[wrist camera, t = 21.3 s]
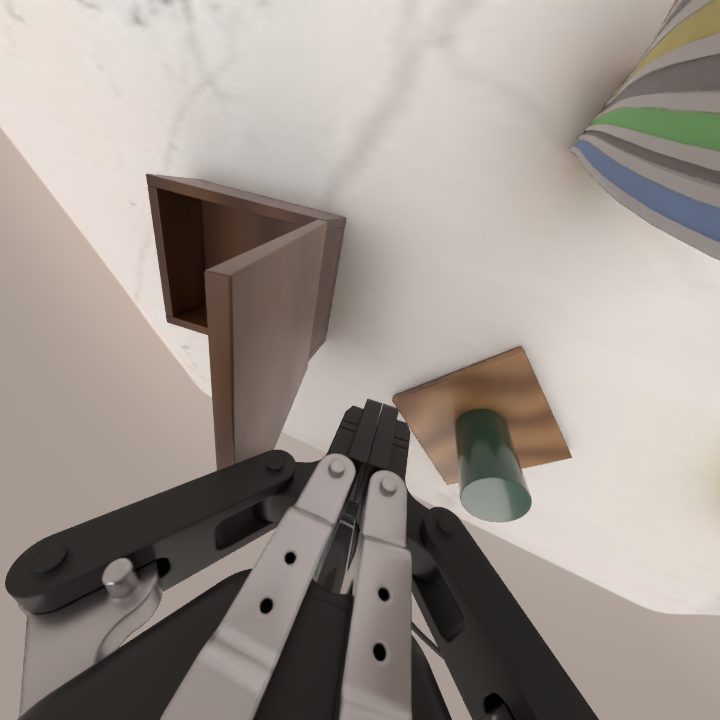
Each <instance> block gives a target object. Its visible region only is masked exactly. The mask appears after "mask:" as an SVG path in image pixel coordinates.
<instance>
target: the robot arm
mask: <svg viewBox="0 0 720 720" xmlns="http://www.w3.org/2000/svg"><path fill="white" fill-rule="evenodd" d="M381 407H382V403H379V402H376V401H373V400H370V399H367V401H366V404H365V407H364V409H362V408H359V407H356V406H352V407H351V408H350V409H348V410H347V411H346V412H345V414H344V417H343V419H342V421H341V423H340V426H339V428H338V430H337V432H336V435H335V437H334V439H333V441H332V444H331V446H330V448H329V451H328V452H327V454H326V455H325V456H324V457H323V458H322V459H320V460H318V461H315V462H310V463H304V462H303V463H302V462H295V460H294V458H293V457H292V456H291V455H290V454H289V453H287V452H285V451H283V450H270V451H267V452H264V453H262V454H259V455H257V456H254V457H251V458H249V459H246V460H244V461H241V462H239V463H236V464H233V465H231V466H228V467H226V468H223V469H221V470H218V471H215V472H213V473H210V474H208V475H205V476H203V477H200V478H197V479H195V480H192V481H190V482H187V483H185V484H182V485H179V486H177V487H174V488H172V489H169V490H167V491H164V492H162V493H159V494H156V495H154V496H151V497H149V498H146V499H143V500H141V501H138V502H136V503H133V504H130V505H128V506H125V507H123V508H120V509H118V510H115V511H112V512H110V513H107V514H105V515H102V516H100V517H97V518H94V519H92V520H89V521H87V522H84V523H82V524H79V525H76V526H74V527H71V528H69V529H66V530H64V531H61V532H58V533H56V534H53V535H51V536H49V537H46V538H44V539H42V540H41V541H39V542H37V543H36V544H34V545H32V546H31V547H30V548H28V549H27V550H26V551H25V552H24V553H23V554H22V555H20V557H19V558H18V559H17V560H16V561H15V562H14V564H13V565H12V566H11V568H10V570H9V572H8V574H7V576H6V581H5V586H6V589H7V591H8V593H9V594H10V595H11V596H12V597H13V598H14V599H15V600H16V601H17V602H18V605H19V607H20V609H21V610H22V611H23V612H24V614H25V615H26V616H27V626H26V638H25V650H24V662H23V663H24V664H23V675H22V688H21V699H20V711H19V718H18V719H17V720H452V719H451V716H450V714H449V711H448V709H447V706H446V704H445V702H444V699H443V697H442V694H441V692H440V690H439V687H438V685H437V682H436V680H435V677H434V675H433V673H432V670H431V668H430V665H429V663H428V661H427V659H426V657H425V655H424V653H423V651H422V649H421V647H420V646H419V644H418V643H417V641H416V640H415V638H414V637H413V636H412V635H411V629H412V630H413V631H414V632H415V633H416V634H417V635H418V636H419V637H420V638H421V639H422V640H423V641H424V642H425V643H426V644H427V645H428V646H429V647H431V648H432V649H433V650H434V651H435V652H436V653H437V654H438V655H439V656H440V657H442V658H443V659H444V661H445V663H446V665H447V667H448V669H449V671H450V673H451V675H452V677H453V679H454V682H455V684H456V686H457V688H458V690H459V692H460V694H461V696H462V698H463V701H464V703H465V705H466V707H467V709H468V711H469V713H470V715H471V717H472V719H473V720H599V719H598V718H597V716H596V715H595V713H594V712H593V711H592V709H591V708H590V706H589V705H588V703H587V702H586V700H585V699H584V698H583V696H582V695H581V693H580V692H579V690H578V689H577V688H576V686H575V685H574V683H573V682H572V680H571V679H570V677H569V676H568V675H567V673H566V672H565V670H564V669H563V667H562V666H561V665H560V663H559V662H558V660H557V659H556V657H555V656H554V655H553V653H552V652H551V650H550V649H549V647H548V646H547V645H546V643H545V642H544V640H543V639H542V637H541V636H540V634H539V633H538V631H537V630H536V628H535V627H534V626H533V624H532V623H531V621H530V620H529V618H528V617H527V615H526V614H525V613H524V611H523V610H522V608H521V607H520V605H519V604H518V603H517V601H516V600H515V598H514V597H513V595H512V594H511V592H510V591H509V590H508V588H507V587H506V585H505V584H504V582H503V581H502V580H501V578H500V577H499V575H498V574H497V572H496V571H495V570H494V568H493V567H492V565H491V564H490V562H489V561H488V559H487V558H486V556H485V555H484V554H483V552H482V551H481V549H480V548H479V546H478V545H477V544H476V542H475V541H474V539H473V538H472V536H471V535H470V533H469V532H468V531H467V529H466V528H465V526H464V525H463V524H462V522H461V521H460V519H459V518H458V517H457V516H456V515H455V514H454V513H453V512H451V511H450V510H448V509H446V508H442V507H434V508H431V509H430V510H429V509H428V508H426V507H425V506H423V505H422V504H420V503H419V502H418V501H416V500H415V499H414V498H413V497H412V495H411V494H410V493H409V491H408V489H407V487H406V484H405V475H406V466H407V458H408V449H409V441H410V430H409V427H408V425H407V423H405V422H402V421H399V420H397V417H398V411H399V409H398V408H395V407H392V406H389V405H386V404H383V407H382V410H381ZM380 411H381V413H380ZM379 414H380V416H379ZM378 418H379V419H378ZM377 421H378V422H377ZM361 477H362V478H361ZM360 480H361V481H360ZM359 482H360V485H359ZM358 485H359V488H358ZM357 488H358V492H357V496H356V499H355V502H356V503H359V504H360V505H359V509H358V513H357V516H356V519H355V522H354V524H353V523H352V522H350V521H348V520H346V519H343V518H341V517H342V516H343V515H344V513H345V510H346V507H347V504H348V501H349V500H350V501H353V500H354V497H355V494H356V491H357ZM276 527H277V528H276ZM274 528H276V530H275V531H274V533H273V535H272V537H271V538H270V540H269V542H268V543H267V545H266V547H265V549H264V550H263V552H262V553H261V555H260V557H259V559H258V560H257V562H256V564H255V565H254V567H253V568H252V569H248V570H244V571H241V572H238V573H235V574H233V575H231V576H229V577H228V578H226V579H224V580H222V581H221V582H219V583H218V584H216V585H215V586H213V587H211V588H210V589H209V590H207V591H206V592H204V593H202V594H201V595H199V596H198V597H196V598H195V599H193V600H192V601H190V602H189V603H187V604H186V605H184V606H182V607H181V608H180V609H178V610H177V611H175V612H173V613H172V614H170V615H169V616H167V617H166V618H164V619H163V620H161V621H160V622H158V623H156V624H155V625H153V626H152V627H150V628H149V629H147V630H146V631H144V632H143V633H141V634H140V635H138V636H137V637H135V638H134V639H132V640H130V641H129V642H127V643H126V644H124V645H123V646H121V647H120V645H121V644H122V643H123V642H124V641H125V640H126V639H127V638H128V637H129V636H130V635H131V634H132V633H133V632H134V631H136V630H137V629H139V628H140V627H141V626H142V625H143V624H145V623H146V622H147V621H148V620H149V619H150V618H151V617H152V615H153V614H154V612H155V611H156V610H157V608H158V606H159V604H160V601H161V599H162V594H163V592H164V591H165V590H167V589H169V588H171V587H172V586H174V585H176V584H178V583H179V582H181V581H183V580H185V579H187V578H188V577H190V576H192V575H193V574H195V573H197V572H199V571H201V570H202V569H204V568H206V567H208V566H209V565H211V564H213V563H215V562H216V561H218V560H220V559H222V558H224V557H225V556H227V555H229V554H231V553H232V552H234V551H236V550H237V549H239V548H241V547H243V546H245V545H246V544H248V543H250V542H252V541H253V540H255V539H257V538H259V537H260V536H262V535H264V534H266V533H267V532H269V531H271V530H273V529H274ZM412 593H413V595H414V597H415V599H416V602H417V604H418V606H419V608H420V610H421V612H422V614H423V616H424V618H425V621H426V623H427V625H428V627H429V629H430V631H431V633H432V635H433V637H434V639H435V641H436V644H437V646H438V647H437V646H436V645H435V644H434V643H433V642H431V640H430V639H428V638H427V637H426V636H425V635H424V634H423V633H422V632H421V631H420V630H419V629H418V628H417V627H416V625H415V624H414V623H413V622H412V618H411V617H412V615H411V614H412V613H411V611H412V610H411V609H412V606H411V605H412V603H411V602H412V600H411V597H412ZM119 647H120V648H119Z"/></svg>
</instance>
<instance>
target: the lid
mask: <svg viewBox="0 0 720 720" xmlns="http://www.w3.org/2000/svg"><path fill="white" fill-rule="evenodd" d="M326 229H327V221H323V220H316V221H314V222H312V223H310V224H307V225H305V226H303V227H301V228H298V229H296V230H294V231H292V232H290V233H287V234H285V235H283V236H281V237H278V238H276V239H274V240H272V241H270V242H267V243H265V244H263V245H261V246H258V247H256V248H254V249H252V250H250V251H247V252H245V253H243V254H241V255H238V256H236V257H234V258H232V259H230V260H227V261H225V262H223V263H221V264H218V265H216V266H214V267H212V268H210V269H207V270H205V273H204V276H205V292H206V307H207V323H208V339H209V354H210V370H211V385H212V400H213V416H214V432H215V447H216V463H217V471H218V470H221V469H223V468H226V467H228V466H231V465H233V464H236V463H239V462H241V461H244V460H246V459H249V458H251V457H254V456H257V455H259V454H262V453H264V452H267V451H270V450H274V448H275V445H276V443H277V441H278V438H279V436H280V433H281V431H282V428H283V426H284V424H285V421H286V419H287V416H288V414H289V411H290V409H291V407H292V404H293V402H294V399H295V397H296V394H297V392H298V389H299V387H300V385H301V382H302V380H303V377H304V375H305V372H306V370H307V366H308V358H309V351H310V344H311V337H312V330H313V322H314V315H315V308H316V301H317V294H318V286H319V279H320V272H321V265H322V258H323V250H324V243H325V236H326Z"/></svg>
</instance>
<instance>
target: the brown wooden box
mask: <svg viewBox="0 0 720 720" xmlns="http://www.w3.org/2000/svg"><path fill="white" fill-rule="evenodd" d="M146 178H147V185H148V191H149V199H150V206H151V213H152V220H153V227H154V234H155V241H156V248H157V255H158V262H159V269H160V276H161V283H162V290H163V297H164V305H165V312H166V319H167V322H168V323H171V324H174V325H177V326H181V327H184V328H187V329H190V330H193V331H197V332H200V333H203V334H206V335H208V323H207V307H206V292H205V276H204V273H205V270H207V269H210V268H212V267H214V266H216V265H218V264H221V263H223V262H225V261H227V260H230V259H232V258H234V257H236V256H238V255H241V254H243V253H245V252H247V251H250V250H252V249H254V248H256V247H258V246H261V245H263V244H265V243H267V242H270V241H272V240H274V239H276V238H278V237H281V236H283V235H285V234H287V233H290V232H292V231H294V230H296V229H298V228H301V227H303V226H305V225H307V224H310V223H312V222H314V221H316V220H323V221H327V229H326V236H325V243H324V250H323V258H322V265H321V272H320V279H319V286H318V294H317V301H316V308H315V315H314V322H313V330H312V337H311V344H310V351H309V358H308V361H309V360H310V359H311V358H312V357H313V355H314V354H315V353H316V352H317V350H318V349H319V348H320V347H321V346H322V344H323V343H324V342H325V341H326V335H327V329H328V323H329V317H330V311H331V305H332V299H333V293H334V287H335V281H336V275H337V269H338V263H339V257H340V251H341V245H342V239H343V233H344V227H345V221H346V217H343V216H339V215H335V214H331V213H327V212H323V211H319V210H316V209H312V208H308V207H304V206H300V205H296V204H292V203H288V202H284V201H281V200H277V199H273V198H269V197H265V196H261V195H257V194H253V193H249V192H246V191H242V190H238V189H234V188H230V187H226V186H222V185H218V184H214V183H211V182H207V181H203V180H199V179H190V178H181V177H172V176H163V175H154V174H146Z"/></svg>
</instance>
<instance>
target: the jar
mask: <svg viewBox="0 0 720 720" xmlns="http://www.w3.org/2000/svg"><path fill="white" fill-rule="evenodd" d="M455 441H456V453H457V466H458V478H459V490H460V501H461V503H462V505H463V507H464V508H465V509H466V510H467V511H468V512H469V513H470V514H472V515H473V516H475V517H477V518H479V519H482V520H485V521H490V522H508V521H513V520H516V519H518V518H520V517H522V516H524V515H525V514H526V513H527V512H528V511H529V509H530V507H531V503H532V500H531V496H530V493H529V490H528V487H527V483H526V480H525V477H524V474H523V471H522V468H521V465H520V462H519V459H518V456H517V453H516V450H515V446H514V443H513V440H512V437H511V434H510V431H509V428H508V425H507V422H506V421H505V419H504V418H503V417H502V416H501V415H500V414H498V413H496V412H494V411H492V410H488V409H473V410H470V411H467V412H465V413H464V414H462V415H461V416H460V417H459V418H458V419H457V421H456V423H455Z"/></svg>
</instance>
